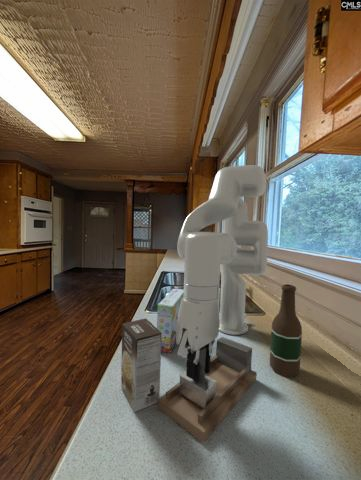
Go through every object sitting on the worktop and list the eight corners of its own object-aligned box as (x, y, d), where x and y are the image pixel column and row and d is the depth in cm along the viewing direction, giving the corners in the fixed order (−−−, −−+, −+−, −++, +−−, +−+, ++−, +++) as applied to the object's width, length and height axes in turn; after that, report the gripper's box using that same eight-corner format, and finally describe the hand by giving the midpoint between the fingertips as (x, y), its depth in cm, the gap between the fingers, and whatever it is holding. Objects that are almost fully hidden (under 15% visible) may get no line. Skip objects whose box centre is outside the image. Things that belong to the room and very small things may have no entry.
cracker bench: (216, 361, 68) (217, 335, 68) (256, 379, 60) (257, 350, 60) (157, 408, 50) (158, 372, 50) (203, 442, 42) (204, 400, 42)
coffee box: (119, 387, 56) (120, 322, 55) (144, 378, 59) (145, 317, 59) (133, 413, 48) (135, 338, 47) (161, 402, 52) (163, 331, 51)
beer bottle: (301, 381, 60) (307, 290, 59) (269, 373, 63) (274, 287, 62) (297, 365, 68) (302, 284, 66) (269, 359, 70) (273, 281, 69)
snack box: (172, 353, 72) (173, 306, 71) (154, 351, 73) (155, 304, 72) (184, 326, 92) (185, 288, 92) (170, 324, 94) (172, 287, 93)
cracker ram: (190, 384, 54) (192, 338, 54) (216, 398, 50) (218, 349, 49) (179, 392, 51) (180, 344, 51) (205, 409, 47) (207, 356, 46)
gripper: (208, 282, 58) (205, 353, 59) (161, 295, 46) (159, 385, 47) (235, 287, 53) (231, 365, 54) (191, 304, 41) (188, 404, 42)
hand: (198, 373), depth 50 cm, fingers closed on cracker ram, 3 cm apart
